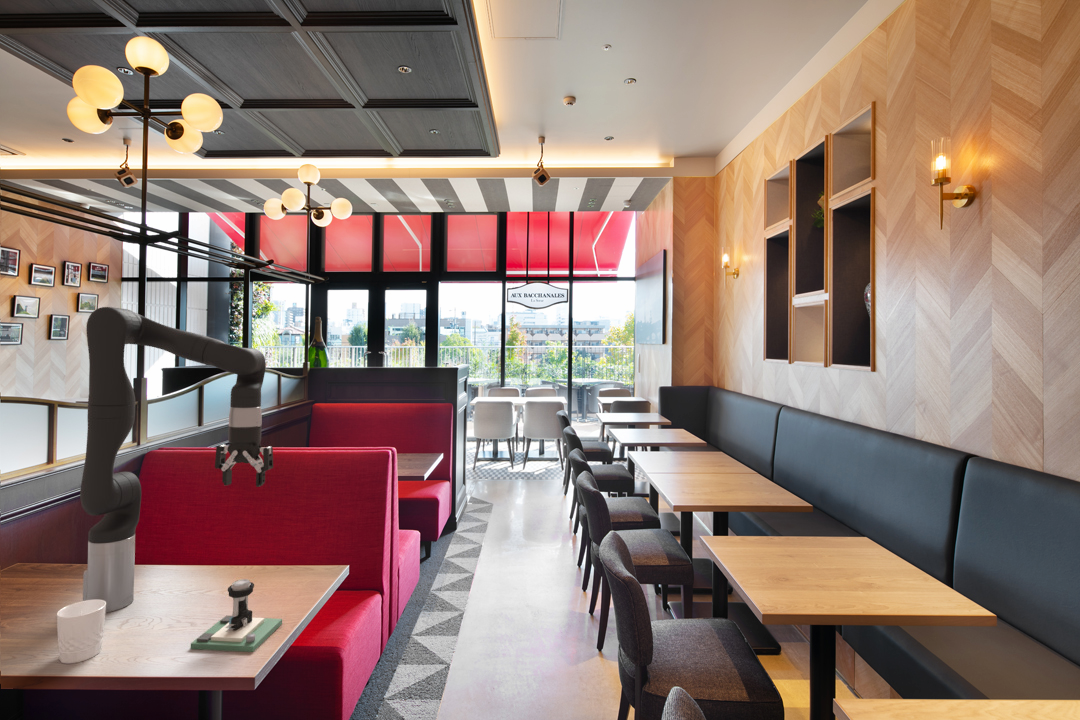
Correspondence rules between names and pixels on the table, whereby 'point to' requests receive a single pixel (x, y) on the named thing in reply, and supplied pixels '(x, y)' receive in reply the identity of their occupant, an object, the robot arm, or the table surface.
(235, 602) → the push button
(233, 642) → the board
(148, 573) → the table surface
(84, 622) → the white cup
